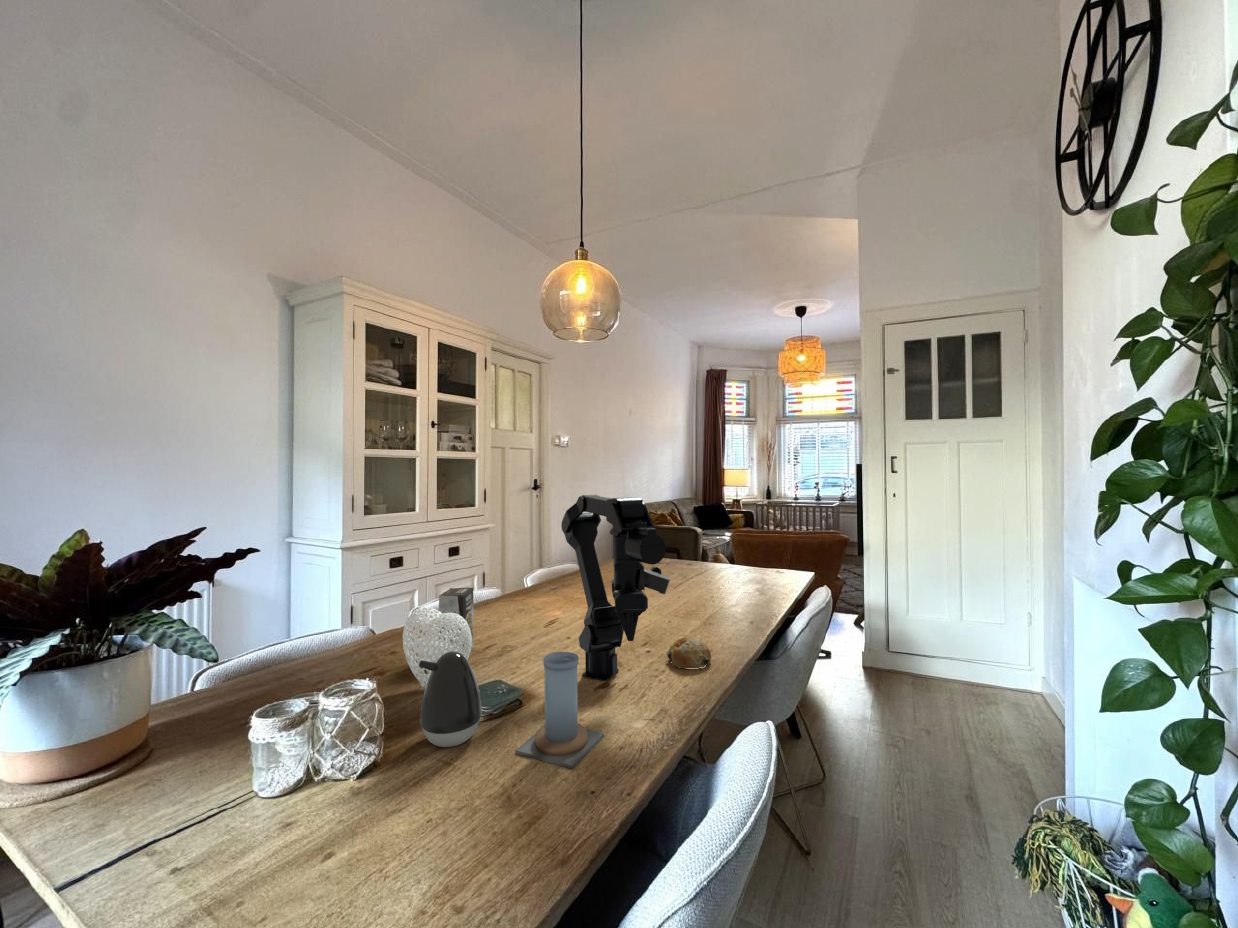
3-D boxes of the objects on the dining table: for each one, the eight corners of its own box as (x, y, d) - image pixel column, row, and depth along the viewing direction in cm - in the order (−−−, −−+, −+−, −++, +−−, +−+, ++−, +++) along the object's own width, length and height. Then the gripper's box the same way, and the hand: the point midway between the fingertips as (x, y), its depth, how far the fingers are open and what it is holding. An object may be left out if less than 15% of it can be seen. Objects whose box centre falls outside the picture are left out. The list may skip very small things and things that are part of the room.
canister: (536, 735, 87) (535, 658, 87) (562, 722, 92) (561, 649, 92) (560, 747, 83) (559, 667, 83) (586, 733, 88) (585, 657, 88)
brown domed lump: (690, 688, 118) (703, 660, 116) (656, 660, 124) (668, 633, 122) (710, 674, 126) (722, 648, 124) (677, 649, 132) (688, 623, 130)
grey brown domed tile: (515, 753, 85) (515, 743, 85) (551, 723, 95) (551, 714, 95) (572, 769, 80) (572, 758, 80) (604, 735, 90) (604, 726, 90)
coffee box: (463, 660, 127) (463, 595, 127) (437, 660, 127) (437, 595, 127) (474, 647, 136) (474, 586, 136) (450, 647, 136) (450, 587, 136)
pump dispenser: (419, 731, 92) (419, 646, 92) (478, 721, 96) (478, 639, 96) (418, 761, 83) (418, 666, 83) (484, 748, 86) (484, 658, 87)
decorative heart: (485, 691, 109) (484, 610, 109) (443, 711, 100) (442, 623, 100) (432, 673, 119) (431, 599, 119) (389, 690, 110) (389, 610, 110)
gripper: (673, 564, 97) (675, 647, 97) (659, 550, 116) (661, 620, 115) (614, 565, 96) (616, 649, 96) (610, 552, 115) (612, 622, 114)
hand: (628, 634), depth 105 cm, fingers open, 9 cm apart
